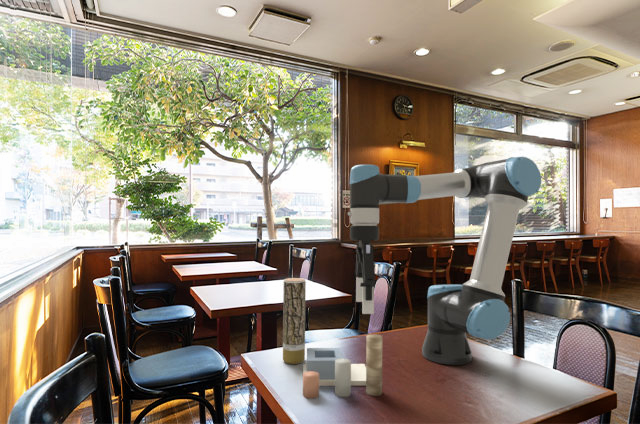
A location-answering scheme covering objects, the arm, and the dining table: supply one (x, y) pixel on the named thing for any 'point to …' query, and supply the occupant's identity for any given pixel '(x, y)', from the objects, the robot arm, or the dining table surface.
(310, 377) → the short dowel
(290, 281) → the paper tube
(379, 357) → the long dowel
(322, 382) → the socket board
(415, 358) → the dining table surface
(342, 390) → the medium dowel
